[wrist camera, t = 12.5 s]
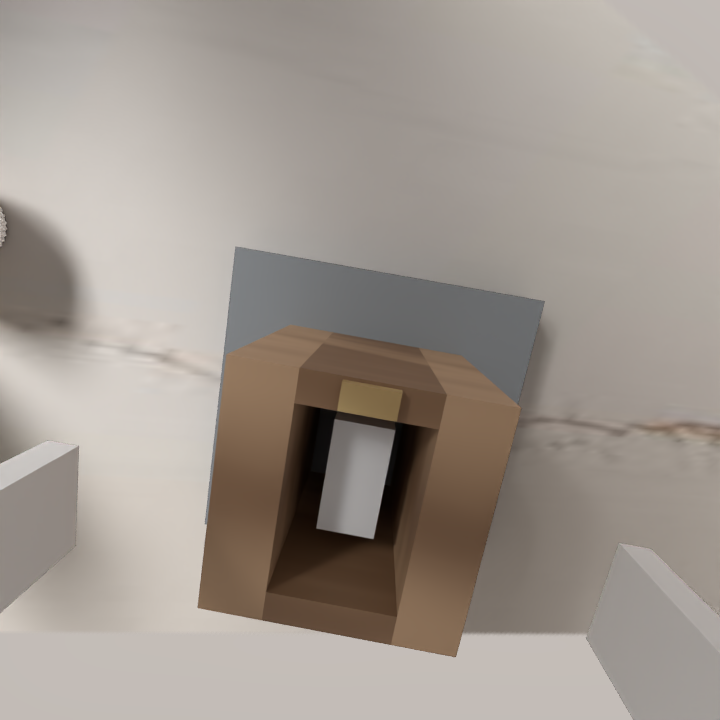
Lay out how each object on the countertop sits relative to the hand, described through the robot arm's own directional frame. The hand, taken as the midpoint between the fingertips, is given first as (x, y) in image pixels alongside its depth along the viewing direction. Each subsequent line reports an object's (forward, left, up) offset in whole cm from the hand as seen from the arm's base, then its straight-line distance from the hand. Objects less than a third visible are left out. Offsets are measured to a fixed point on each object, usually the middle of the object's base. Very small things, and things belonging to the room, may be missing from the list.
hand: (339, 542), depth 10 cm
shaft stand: (0, 0, -12) cm, 12 cm away
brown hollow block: (0, 0, -10) cm, 10 cm away
